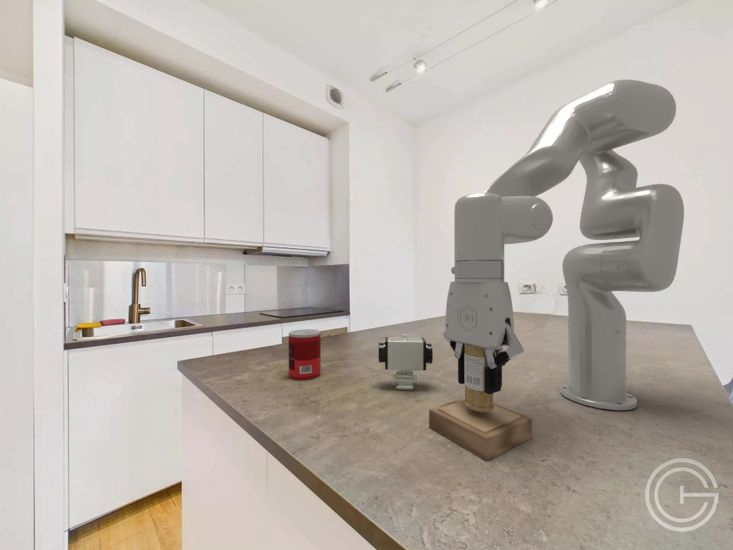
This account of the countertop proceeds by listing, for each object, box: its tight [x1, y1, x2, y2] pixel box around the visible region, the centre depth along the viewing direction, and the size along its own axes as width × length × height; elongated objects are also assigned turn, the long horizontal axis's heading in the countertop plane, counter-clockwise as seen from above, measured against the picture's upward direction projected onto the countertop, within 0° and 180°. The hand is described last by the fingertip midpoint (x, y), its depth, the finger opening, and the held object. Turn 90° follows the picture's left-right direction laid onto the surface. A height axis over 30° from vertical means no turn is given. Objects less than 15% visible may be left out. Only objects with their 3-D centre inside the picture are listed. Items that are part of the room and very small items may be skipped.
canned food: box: [288, 328, 322, 381], centre depth 78 cm, size 8×8×11 cm
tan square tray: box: [428, 397, 533, 462], centre depth 49 cm, size 11×11×3 cm
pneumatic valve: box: [378, 333, 434, 391], centre depth 70 cm, size 6×12×12 cm, turn 86°
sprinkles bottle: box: [464, 344, 495, 412], centre depth 49 cm, size 5×5×14 cm
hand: (478, 385), depth 49 cm, fingers closed on sprinkles bottle, 4 cm apart
